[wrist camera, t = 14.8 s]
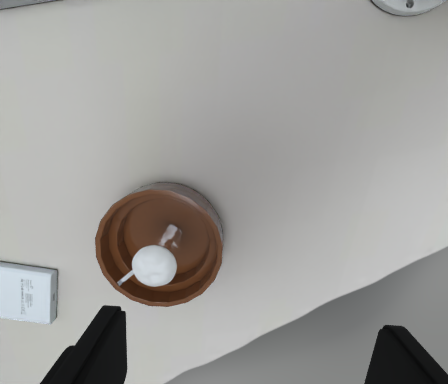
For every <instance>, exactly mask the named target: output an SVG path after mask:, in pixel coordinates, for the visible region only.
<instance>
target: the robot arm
mask: <svg viewBox="0 0 448 384" xmlns="http://www.w3.org/2000/svg"><path fill="white" fill-rule="evenodd" d="M372 1H373V2H374V3H375V4H376V5H377V6H378V7H380V8H381V9H383V10H384V11H387V12H389V13H392V14H394V15H401V16H411V15H418V14H421V13H425V12H427V11H429V10H431V9H433V8H435V7H437V6H438V5H440V4H442V3H443V2H445V1H446V0H372ZM126 374H127V346H126V313H125V311H121V307H119V306H106V305H104V306H103V307H102V308H101V309H100V311H99V312H98V313H97V315H96V316H95V318H94V319H93V321H92V322H91V323H90V325H89V326H88V328H87V329H86V331H85V332H84V333H83V335H82V336H81V338H80V339H79V341H78V342H77V343H76V345H75V346H69V347H68V348H66V349H65V351H64V352H63V353H62V354H61V356H60V357H59V358H58V360H57V361H56V362H55V364H54V365H53V367H52V368H51V369H50V371H49V372H48V373H47V375H46V376H45V377H44V379H43V380H42V382H41V383H40V384H124V381H125V378H126ZM364 384H448V374H447V373H446V372H445V371H444V370H443V369H442V368H441V367H440V366H439V364H438V363H437V362H436V361H435V360H434V359H433V358H432V357H431V356H430V355H429V354H428V352H427V351H426V350H425V349H424V348H423V347H422V346H421V345H420V343H419V342H417V340H416V339H415V338H414V337H413V336H412V335H411V334H410V332H409V331H408V330H407V329H406V328H405V327H402V326H393V325H385V326H384V327H383V328H382V329H380V330H379V332H378V336H377V340H376V343H375V347H374V351H373V354H372V358H371V362H370V365H369V369H368V372H367V376H366V379H365V383H364Z"/></svg>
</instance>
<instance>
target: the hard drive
mask: <svg viewBox="0 0 448 384" xmlns="http://www.w3.org/2000/svg"><path fill="white" fill-rule="evenodd" d="M57 275H58V273H57V270H52V269H46V268H40V267H33V266H26V265H19V264H12V263H5V262H0V318H5V319H12V320H20V321H28V322H36V323H43V324H52V322H53V321H54V320H55V319H56V312H57V311H56V310H57Z"/></svg>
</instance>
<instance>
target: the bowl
mask: <svg viewBox="0 0 448 384" xmlns="http://www.w3.org/2000/svg"><path fill="white" fill-rule="evenodd" d="M169 224H171V225H174V226H177V227H178V228H179V229H180V231H181V232H182V242H181V246H180V251H179V256H178V263H177V270H176V273H175V276H174V278H173V279H172V280H171V281H170V282H169V283H167V284H165V285H162V286H156V287H153V286H148V285H145V284H143V283H141V282H140V281H139V280H138V279H137V278H136V276H135V275H134V274H133V275H132V276H131V277H130V278H128V279H127V280H126V281H125V282H124V283H122V284H121V285H120V286H119V285H118V281H119V280H121V279H122V278H123V277H124V276H125V275H127V274H128V273H129V272H130V271H132V270H133V269H132V260H133V258H134V256H135V254H136V253H137V252H138V251H139V250H140V249H141V248H142V247H143V246H144V245H145V244H146V243H147V242H148V241H149V240H151V239H152V238H153V236H154V235H155V234H156V233H157V232H158V231H159V230H160V229H161V228H162V227H163V226H165V225H169ZM95 245H96V258H97V260H98V263H99V265H100V268H101V270H102V273H103V275H104V276H105V277H106V279H107V280H108V281H109V282H110V283H111V285H112V286H113V287H114V288H115V289H116V290H117V291H119V292H120V293H122V294H123V295H125V296H126V297H128V298H129V299H131V300H133V301H136V302H139V303H142V304H145V305H148V306H163V307H169V306H174V305H178V304H182V303H186V302H188V301H190V300H192V299H194V298H195V297H197V296H199V295H201V294H202V293H203V292H204V291H205V290H206V289H207V288H208V287H209V286H210V285H211V283H212V282H213V281H214V280H215V278H216V275H217V273H218V271H219V269H220V266H221V263H222V250H223V231H222V227H221V224H220V220H219V216H218V215H217V213H216V212H215V210H214V209H213V207H212V206H211V204H210V203H209V202H208V200H206V199H205V198H204V197H203V196H201V195H200V194H199V193H198V192H196V191H195V190H193V189H191V188H188V187H185V186H183V185H180V184H177V183H163V182H158V183H154V184H150V185H146V186H142V187H140V188H138V189H137V190H135V191H134V192H132V193H130V194H129V195H127V196H126V197H124V198H123V199H121V200H120V201H118V202H117V203H115V204H113V205H112V206H111V208H110V209H109V210H108V212H107V213H106V214H105V215H104V217H103V218H102V219H101V221H100V224H99V227H98V231H97V234H96V237H95Z"/></svg>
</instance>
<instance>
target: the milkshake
mask: <svg viewBox="0 0 448 384" xmlns="http://www.w3.org/2000/svg"><path fill="white" fill-rule="evenodd" d="M181 242H182V232H181V231H180V229H179V228H178V227H177V226H174V225H171V224H169V225H165V226H163V227H162V228H161V229H160V230H159V231H158V232H157V233H156V234H155V235H154V236H153V238H152V239H151V240H149V241H148V242H147V243H146V244H145V245H144V246H143V247H142V248H141V249H140V250H139V251H138V252H137V253H136V254H135V256H134V258H133V260H132V269H133V270H132V271H130V272H129V273H128V274H127V275H125V276H124V277H123V278H122V279H121V280H119V281H118V285H119V286H120V285H121V284H122V283H124V282H125V281H126V280H127V279H128V278H130V277H131V276H132V275H133V274H134V275H135V276H136V278H137V279H138V280H139V281H140V282H141V283H143V284H145V285H148V286H153V287H156V286H162V285H165V284H167V283H169V282H170V281H171V280H172V279H173V278H174V276H175V273H176V270H177V263H178V256H179V251H180V246H181Z"/></svg>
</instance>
